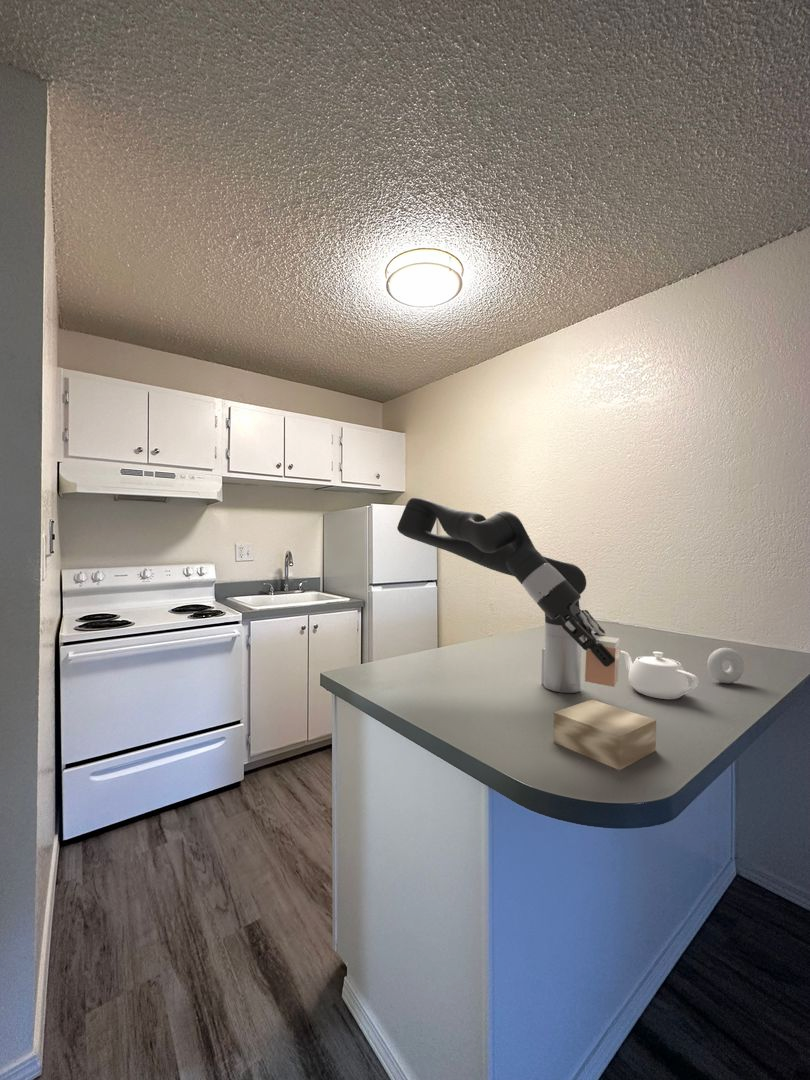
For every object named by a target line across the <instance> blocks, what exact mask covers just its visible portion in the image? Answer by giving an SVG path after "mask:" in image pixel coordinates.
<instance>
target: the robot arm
mask: <svg viewBox="0 0 810 1080" xmlns="http://www.w3.org/2000/svg"><path fill="white" fill-rule="evenodd" d="M437 520H438V521H439V524H440V526H441V527H442V529H443V531H444V532H445V533H446V535H444V534H443V535H442V534H435V533H432V531H433V528H434V527H435V524H436V522H437ZM396 528H397V531H398V532H399V534H401V535H402V536H405V537H407V538H408V539H411V540H414V541H417V542H420V543H424V544H426V545H429V546H431V547H435V548H437V549H440V550H444V551H446V552H448V553H451V554H454V555H456V556H458V557H460V558H463V559H466V560H468V561H470V562H473V563H474V564H477V565H478V566H479V565H480V566H482V567H484V568H486V569H489V570H491V571H492V570H493V571H495V572H499V573H501V574H504V575H508V576H511V577H515V578H516V580H517V581H518V582H519V583H520V584H521V585H522V587H523V588H524V589H525V591H526V593H527V594H528V596H530V598H532V600H533V601H534V602H535V603H536V604H537V605H538V607H539V608H540V609H541V611H543V613H544V647H543V648H542V650H541V680H540V681H541V684H542V685H543V687H544V688H545V689H547V690H550V691H553V692H558V693H563V694H565V693H566V694H570V693H571V694H573V693H578V692H580V691H581V685H582V684H581V681H582V680H581V678H582V677H581V676H582V649H583V650H584V651H586V650H589V651H591V650H592V653H593V654H594V655H595V656H596V657H597V658H598V659H599V660H600V662H601V663H602V664H603V665H604V666H605V667H608V666H609V665H611V664H612V663H613V662H614V661H615V658H614V657H613V656H612V655H611V654H610V653H609V652H608V650H607V649H606V648H605V647H604V646H603V645H602V644H600V641H599V640H598V639H597V637H596V636H595V635H598V636H605V637H607V636H606V632H605V630H604V629H603V628H602V626H601V625H600V624H599V623H598V622H597V621H596V619H595V618H594V617H593V616H592V615H591V613H590V612H589V611H588V610H587V609H582V610H581V607H580V600H581V598H582V597H581V594H583V592H584V591H585V590H586V588H587V578H586V575H585V574H584V572H583V570H582V569H581V568H580V567H579V566H577V565H575V564H573V563H570V562H564V561H560V560H557V559H553V558H550V557H546V556H543V555H542V553H540V552H539V551H538V550H537V549H536V547H535V546H534V544H533V542H532V540H531V538H530V536H529V534H528V531H527V530H526V529H525V526H524V524H523V523H522V521H521V520H520V518H519V517H518V516H517V515H516V514H515V513H512V512H510V511H507V510H503V511H499V512H497V513H495V514H494V515H492V516H489V517H488V518H486V516H484V515H483V514H482V513H478V512H474V511H467V510H461V509H460V510H459V509H456V508H453V507H451V506H448V505H445V504H441V503H440V502H439V503H438V502H436V501H432V500H428V499H426V498H421V497H411V498H410V499H409V500H408V501H407V503H406V505H405V507H404V510H403V512H402V515H401V517H400V519H399V522H398V525H397V527H396ZM587 638H588V640H587ZM599 644H600V645H599Z"/></svg>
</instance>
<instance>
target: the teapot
mask: <svg viewBox="0 0 810 1080" xmlns="http://www.w3.org/2000/svg"><path fill="white" fill-rule="evenodd" d="M619 653H621V654H622V655H623V658H624V660H625V661H624V663H625V669H626V671H627V674H628V683H629V684H630V685H631V686H632V688H634V689H635V690H636V692H638V693H640V694H642V695H644V696H646V697H651V698H656V699H663V700H676V699H679V698H681V697H682V696H684V695H685V694H686V693H690V692H692V691H694V690H695V689H696V688H697V687H698V685H699V678H698V676H696V675H695V674H694V673H691V672H688V671H685V670H684V668H683V666H682V663H680V662H679V661H677V660H674V659H672V658H667V657H663V656H664V654H665V653H664V652H662V651H652V653H653V655H642V656H637V657H636V658H635V660H634V661H633V660H632V657H631V655H630V654H629V653H628V652H627V651H624V650H619ZM688 677H689V678H690V679H691V681H692V682H691V684H689V679H688Z"/></svg>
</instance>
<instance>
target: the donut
mask: <svg viewBox="0 0 810 1080" xmlns="http://www.w3.org/2000/svg"><path fill="white" fill-rule="evenodd" d="M725 661H728V662H729V668H728V669H726V670H723V667H722V666H723V662H725ZM706 665H707V670H708V672H709V675H710V676H711V677H712V679H714V680H715V681H717V682H719V683H722V684H732V683H735V682H737V681H738V680H740V679H741V677H742V676H743V675H744V672H745V667H746V666H745V661H744V659H743V657H742V655H741V654H740V653H739V652H738V651H737V650H735V649H733V648H729V647H720V648H717V649H715V650H713V652H712V653H710V654H709V657H708V658H707V663H706Z"/></svg>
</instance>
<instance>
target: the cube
mask: <svg viewBox="0 0 810 1080" xmlns="http://www.w3.org/2000/svg"><path fill="white" fill-rule="evenodd" d="M595 636H596V637H597V639H598V640H599V641H600V644H602V645H603V646H604V647H605V648H606V649H607V650H608V652H609V653H610V654H611V655H612V656H613V657H614V658H615V661H614V662H613V663H612V664H611V665H609V666H608V667H605V666H604V665H603V664H602V663H601V662H600V660H599V659H598V658H597V657H596V656H595V655H594V654H593V653H592V650H591V651H589V650H585V673H584V682H586V683H587V682H588V683H591V684H597V685H603V686H608V687H612V688H614V687H615V686H616V684H617V682H618V681H619V662H620V661H619V660H620V637H612V636H606V637H605V636H598V635H595ZM587 640H588V638H587V639H586V641H587ZM600 644H599V645H600Z"/></svg>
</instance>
